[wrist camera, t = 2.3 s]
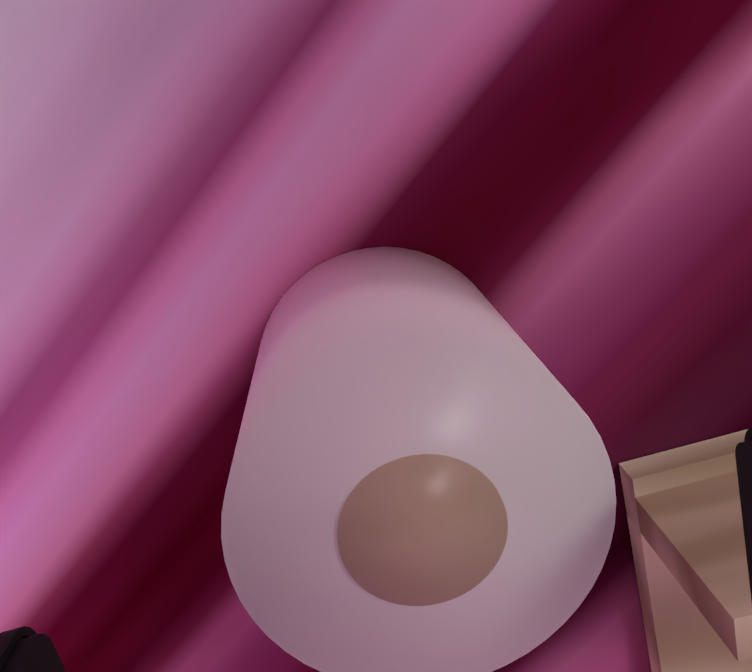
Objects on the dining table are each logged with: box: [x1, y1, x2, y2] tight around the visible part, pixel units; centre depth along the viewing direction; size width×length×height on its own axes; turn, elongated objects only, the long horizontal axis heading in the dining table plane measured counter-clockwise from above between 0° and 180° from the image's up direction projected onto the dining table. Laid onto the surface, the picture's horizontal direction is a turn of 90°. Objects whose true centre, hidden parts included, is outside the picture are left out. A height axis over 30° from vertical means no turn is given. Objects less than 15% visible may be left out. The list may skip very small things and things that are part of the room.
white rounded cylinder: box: [221, 247, 616, 672], centre depth 13 cm, size 6×6×7 cm
